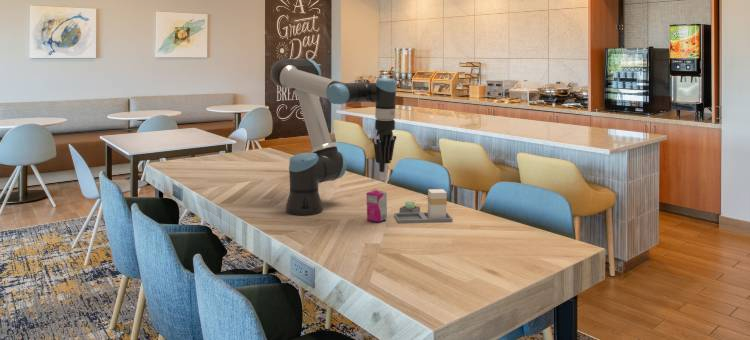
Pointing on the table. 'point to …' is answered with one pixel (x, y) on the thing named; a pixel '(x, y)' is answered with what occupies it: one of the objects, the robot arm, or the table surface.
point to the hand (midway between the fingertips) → (383, 179)
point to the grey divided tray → (419, 218)
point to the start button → (409, 205)
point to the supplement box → (376, 206)
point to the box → (437, 203)
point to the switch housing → (409, 210)
